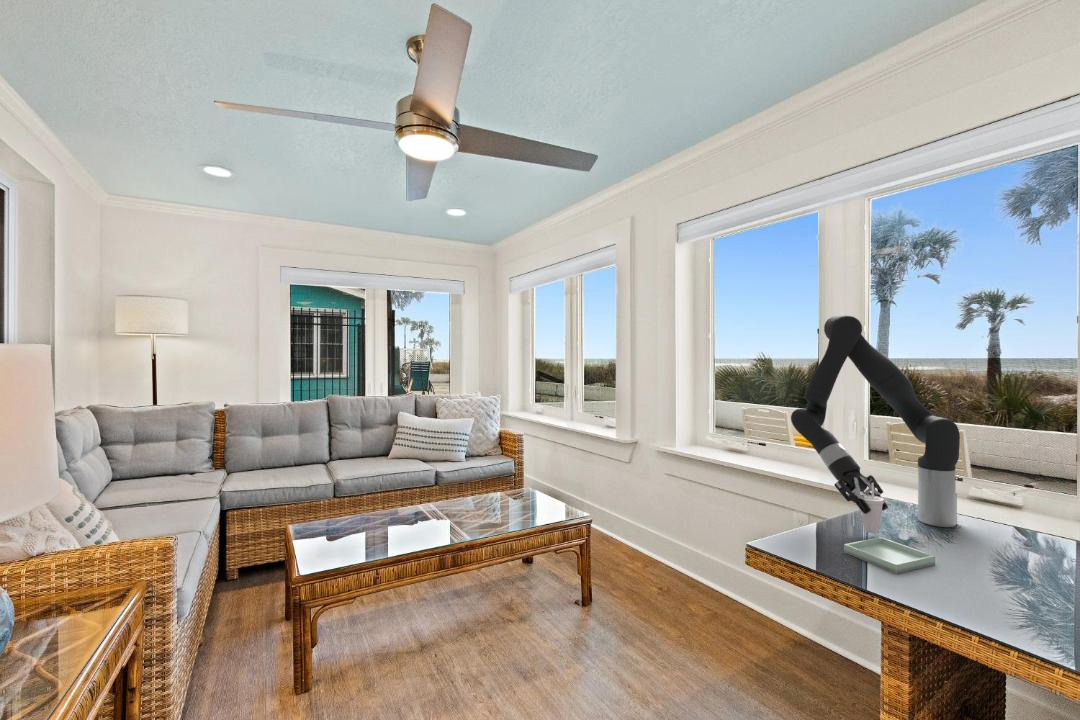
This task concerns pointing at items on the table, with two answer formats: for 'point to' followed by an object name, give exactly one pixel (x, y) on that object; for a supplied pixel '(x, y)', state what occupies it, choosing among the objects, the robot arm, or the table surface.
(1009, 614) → the table surface
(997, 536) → the table surface
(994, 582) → the table surface
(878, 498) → the smoothie
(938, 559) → the table surface
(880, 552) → the tray
